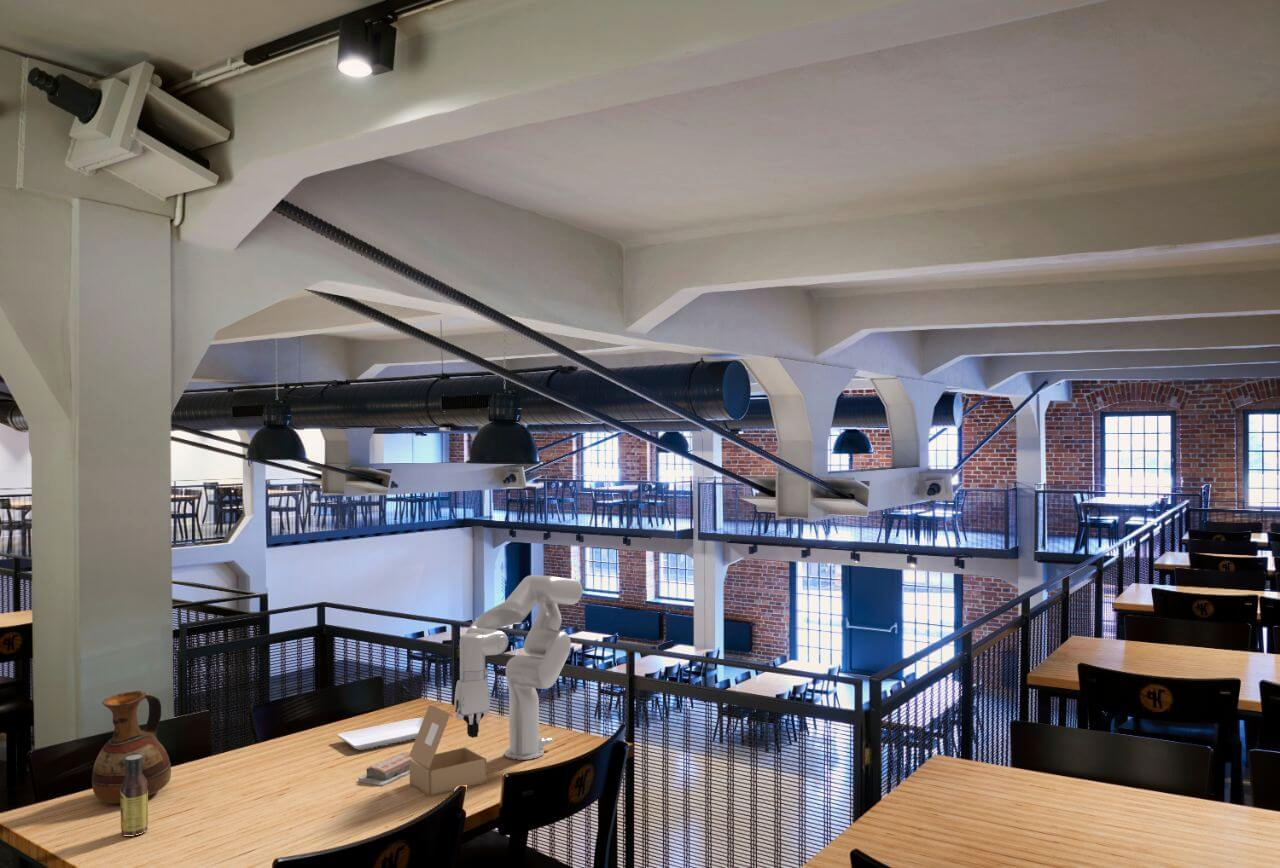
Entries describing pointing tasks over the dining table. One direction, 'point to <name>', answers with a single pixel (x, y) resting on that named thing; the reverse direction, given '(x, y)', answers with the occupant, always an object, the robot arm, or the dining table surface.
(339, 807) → the dining table surface
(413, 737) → the tray
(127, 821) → the sauce bottle
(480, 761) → the mailer box
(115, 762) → the ceramic pitcher
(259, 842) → the dining table surface
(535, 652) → the robot arm
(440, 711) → the lid
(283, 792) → the dining table surface
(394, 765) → the packaged product
